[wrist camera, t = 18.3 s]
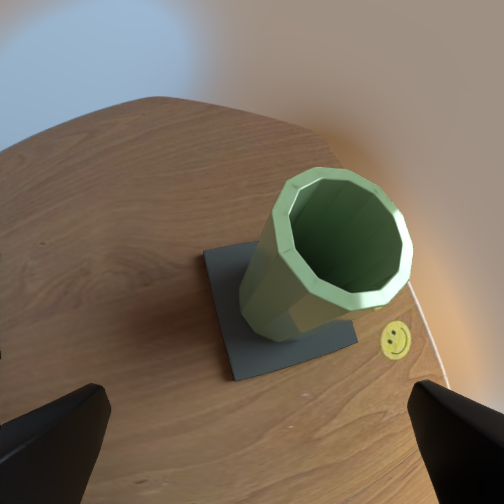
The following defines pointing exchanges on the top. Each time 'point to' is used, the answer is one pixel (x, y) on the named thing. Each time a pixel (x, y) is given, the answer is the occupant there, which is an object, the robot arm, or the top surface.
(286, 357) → the mat
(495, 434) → the robot arm
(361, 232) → the green faceted tube
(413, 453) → the top surface
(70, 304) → the top surface
